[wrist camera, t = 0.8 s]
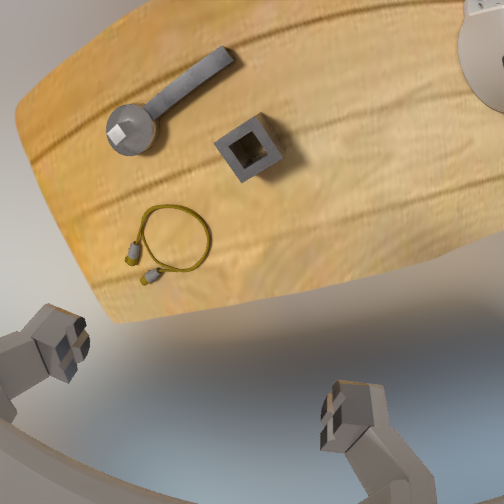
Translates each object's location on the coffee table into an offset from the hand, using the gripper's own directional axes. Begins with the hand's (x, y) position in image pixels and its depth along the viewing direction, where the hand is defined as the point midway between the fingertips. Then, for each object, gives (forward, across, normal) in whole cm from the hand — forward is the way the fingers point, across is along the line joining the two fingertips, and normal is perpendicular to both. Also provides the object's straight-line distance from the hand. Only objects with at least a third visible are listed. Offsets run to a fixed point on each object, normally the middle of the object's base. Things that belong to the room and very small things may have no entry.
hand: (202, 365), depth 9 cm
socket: (+34, +3, 0) cm, 34 cm away
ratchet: (+34, +15, -4) cm, 37 cm away
